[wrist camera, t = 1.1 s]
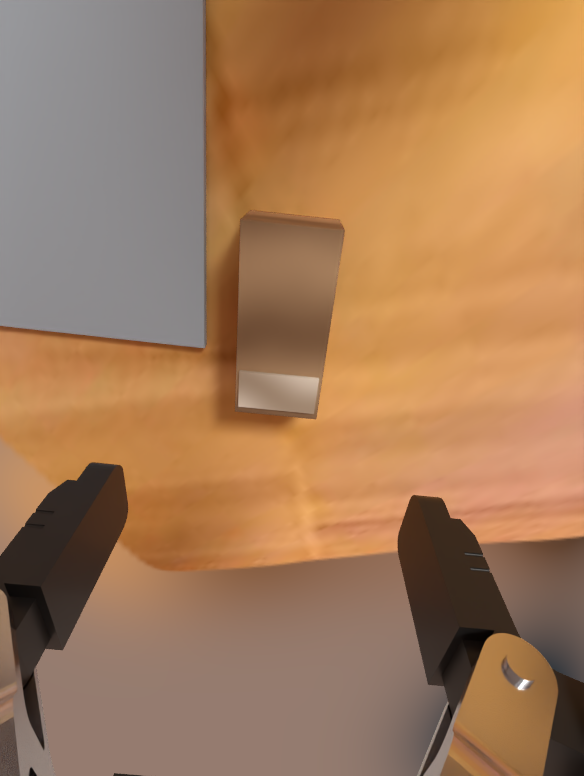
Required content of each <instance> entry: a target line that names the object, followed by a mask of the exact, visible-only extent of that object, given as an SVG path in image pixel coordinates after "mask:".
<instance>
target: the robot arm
mask: <svg viewBox="0 0 584 776" xmlns="http://www.w3.org/2000/svg"><path fill="white" fill-rule="evenodd" d="M127 514H128V501H127V494H126V487H125V480H124V473H123V468H122V466H120V465H114V464H103V463H90V464H89V465H88V466H87V467H86V469H85V470H84V471H83V473H82V474H81V476H80V477H79V478H78V480H77V481H74V480H66V481H65V482H64V483H62V484H61V485H59V486H58V487H57V488H55V489H54V490H52V491H51V492H50V493H48V495H47V496H46V497H45V499H44V500H43V501H42V502H41V504H40V505H39V506H38V508H37V509H36V512H35V513H33V514H32V515H31V517H30V518H29V519H28V521H27V522H26V524H25V527H22V528H21V530H20V531H19V532H18V534H17V535H16V536H15V537H14V539H13V540H12V541H11V543H10V544H9V545H8V547H7V548H6V549H5V550H4V552H3V553H2V554H1V556H0V776H55V772H54V769H53V765H52V761H51V757H50V752H49V746H48V739H47V733H46V727H45V720H44V714H43V707H42V700H41V695H40V688H39V681H38V675H37V669H36V665H37V663H38V661H39V660H40V657H41V656H42V654H43V652H44V650H45V649H55V650H63V649H64V647H65V645H66V643H67V640H68V639H69V637H70V635H71V633H72V631H73V629H74V627H75V624H76V623H77V620H78V619H79V616H80V614H81V612H82V610H83V608H84V606H85V604H86V602H87V600H88V598H89V596H90V594H91V592H92V590H93V588H94V586H95V584H96V582H97V580H98V578H99V576H100V574H101V572H102V570H103V568H104V566H105V564H106V562H107V560H108V558H109V556H110V554H111V552H112V550H113V548H114V546H115V544H116V542H117V540H118V538H119V536H120V534H121V532H122V530H123V528H124V525H125V522H126V519H127ZM398 555H399V559H400V564H401V568H402V572H403V577H404V581H405V585H406V590H407V594H408V599H409V603H410V607H411V612H412V616H413V620H414V625H415V629H416V634H417V638H418V642H419V647H420V651H421V655H422V660H423V664H424V668H425V673H426V677H427V681H428V684H429V685H438V686H444V687H445V690H446V694H447V698H448V703H447V704H446V706H445V709H444V711H443V713H442V716H441V718H440V721H439V723H438V726H437V728H436V731H435V733H434V736H433V738H432V741H431V743H430V746H429V748H428V751H427V753H426V755H425V758H424V760H423V763H422V765H421V768H420V770H419V773H418V775H417V776H584V683H582V682H580V681H578V680H575V679H573V678H570V677H568V676H566V675H563V674H561V673H559V672H557V671H555V670H554V669H552V668H551V667H550V665H549V664H548V662H547V661H546V659H545V658H544V657H543V656H542V655H541V654H540V652H539V651H538V650H536V649H535V648H534V647H533V646H532V645H530V644H529V643H528V642H526V641H525V640H523V639H521V637H520V636H519V634H518V632H517V630H516V627H515V625H514V623H513V621H512V618H511V616H510V614H509V612H508V609H507V607H506V605H505V602H504V600H503V598H502V596H501V594H500V591H499V590H498V587H497V585H496V582H495V580H494V578H493V575H492V573H490V571H489V566H488V564H487V562H486V560H485V558H484V557H483V553H482V551H481V548H480V546H479V544H478V542H477V539H476V537H475V535H474V534H473V533H472V532H471V531H470V530H469V528H468V527H467V526H466V525H465V524H464V523H463V522H462V521H461V519H452V518H450V515H449V513H448V510H447V508H446V505H445V503H444V501H443V499H441V498H438V497H428V496H418V495H413V496H412V497H411V499H410V501H409V504H408V507H407V510H406V513H405V516H404V519H403V522H402V525H401V528H400V531H399V535H398ZM114 776H140V775H127V774H115V773H114Z"/></svg>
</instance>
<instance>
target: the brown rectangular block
mask: <svg viewBox="0 0 584 776" xmlns="http://www.w3.org/2000/svg"><path fill="white" fill-rule="evenodd" d="M344 232H345V230H344V228H343V226H342V224H341V222H340V220H338V219H329V218H319V217H310V216H301V215H291V214H282V213H272V212H263V211H254V210H250V211H249V212H248V213H247V214H246V215H245V216H244V217H243V218H241V219H240V254H239V290H238V326H237V362H236V399H235V411H237V412H247V413H257V414H267V415H277V416H288V417H298V418H308V419H316V417H317V410H318V404H319V397H320V391H321V384H322V377H323V371H324V364H325V357H326V351H327V344H328V338H329V331H330V324H331V318H332V311H333V305H334V298H335V291H336V285H337V278H338V272H339V265H340V258H341V252H342V245H343V239H344Z"/></svg>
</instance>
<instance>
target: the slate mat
mask: <svg viewBox="0 0 584 776" xmlns="http://www.w3.org/2000/svg"><path fill="white" fill-rule="evenodd" d="M0 326H7V327H16V328H25V329H34V330H43V331H52V332H61V333H70V334H79V335H88V336H97V337H107V338H116V339H125V340H134V341H143V342H152V343H161V344H170V345H179V346H188V347H197V348H205V346H206V345H207V339H206V0H0Z"/></svg>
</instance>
